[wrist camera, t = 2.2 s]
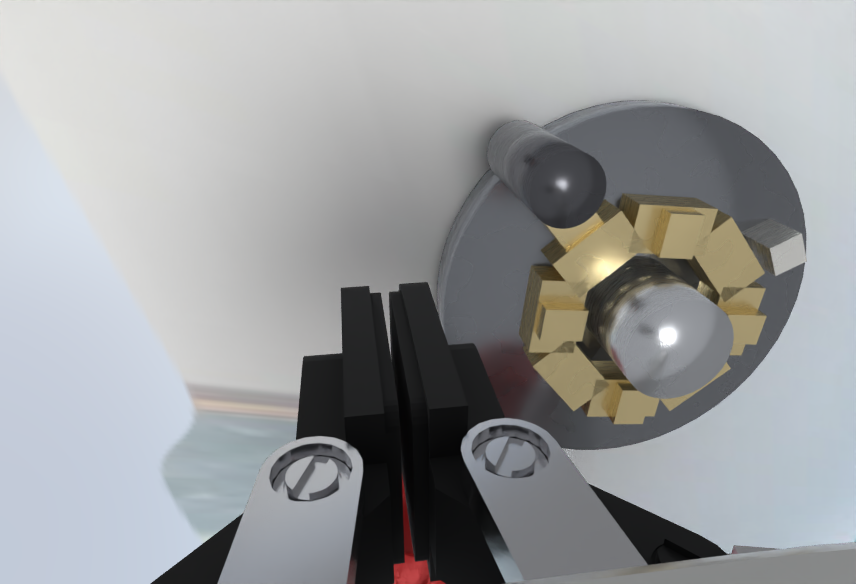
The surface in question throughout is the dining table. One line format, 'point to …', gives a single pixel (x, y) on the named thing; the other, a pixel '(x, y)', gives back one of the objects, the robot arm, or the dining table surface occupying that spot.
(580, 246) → the gold segmented ring
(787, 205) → the dark oval platter
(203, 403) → the dining table surface
